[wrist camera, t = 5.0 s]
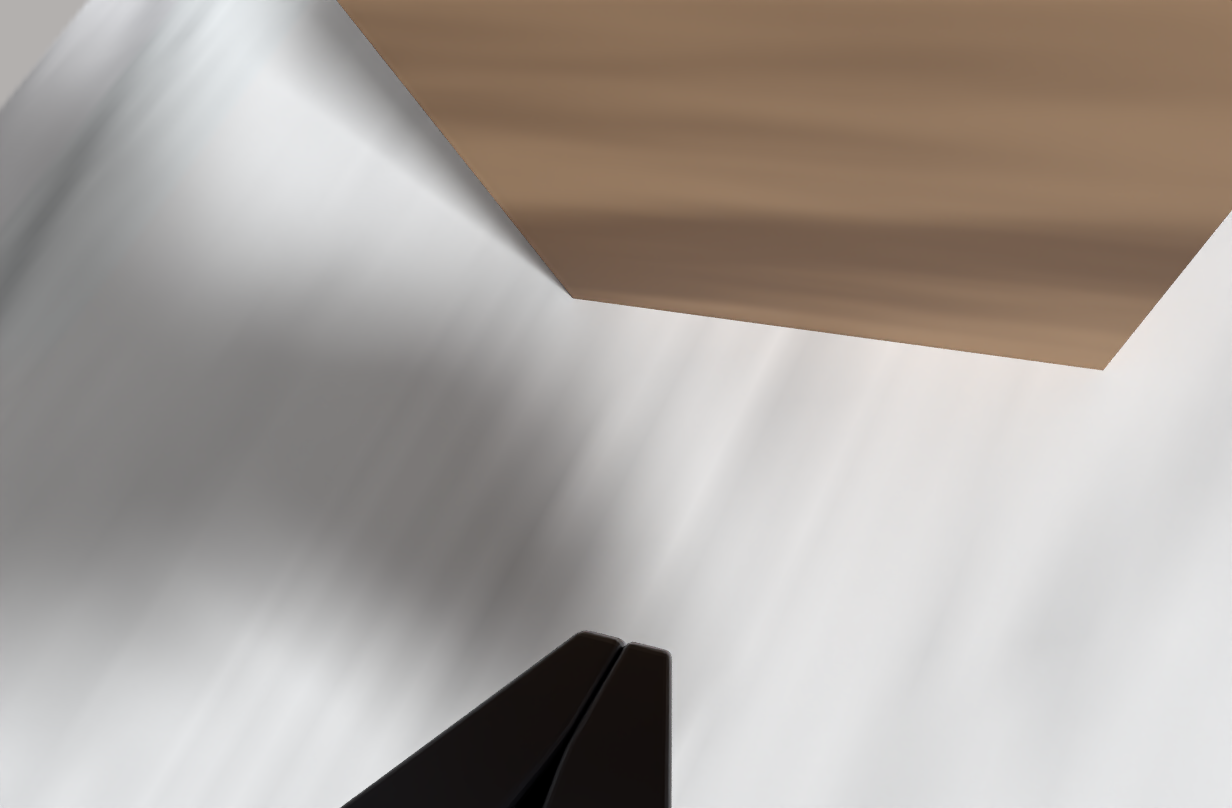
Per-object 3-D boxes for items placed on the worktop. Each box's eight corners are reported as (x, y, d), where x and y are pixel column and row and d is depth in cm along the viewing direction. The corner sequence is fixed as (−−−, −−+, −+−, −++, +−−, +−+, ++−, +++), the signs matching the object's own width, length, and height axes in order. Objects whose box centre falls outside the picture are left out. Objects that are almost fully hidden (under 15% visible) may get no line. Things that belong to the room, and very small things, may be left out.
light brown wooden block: (1102, 370, 16) (1425, -31, 7) (573, 298, 19) (297, -50, 10) (1128, 165, 17) (1446, -441, 8) (617, 127, 20) (401, -342, 11)
